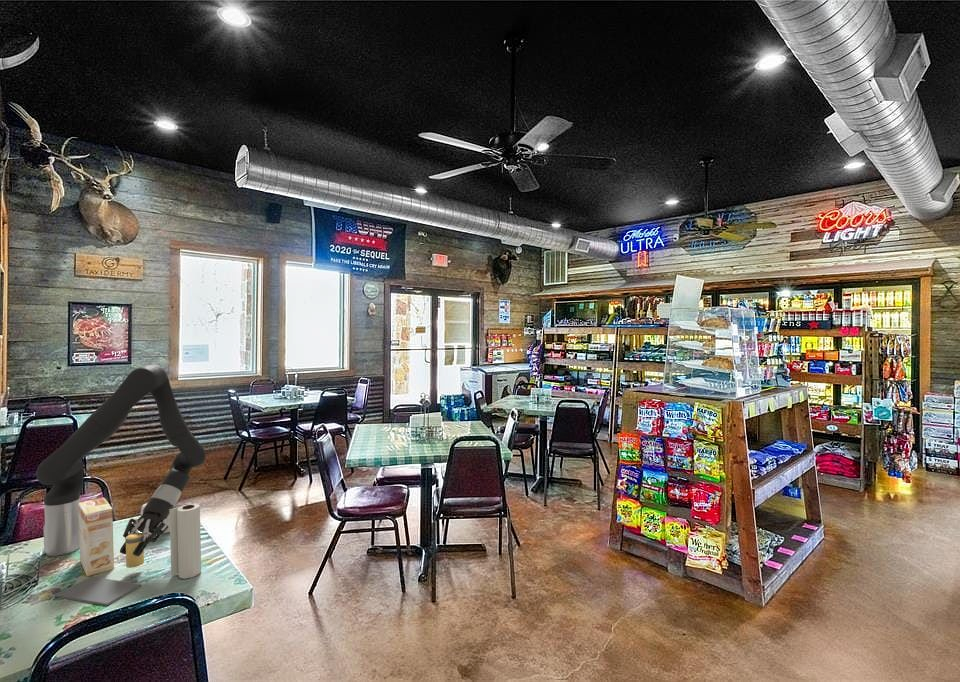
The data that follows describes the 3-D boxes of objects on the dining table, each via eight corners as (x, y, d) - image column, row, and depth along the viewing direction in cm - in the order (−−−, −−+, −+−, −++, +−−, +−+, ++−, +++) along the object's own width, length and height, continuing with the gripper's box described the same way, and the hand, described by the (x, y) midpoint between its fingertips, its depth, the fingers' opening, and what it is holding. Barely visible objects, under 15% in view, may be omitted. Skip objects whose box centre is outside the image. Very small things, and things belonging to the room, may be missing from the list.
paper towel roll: (205, 570, 148) (204, 504, 147) (188, 580, 142) (186, 511, 141) (188, 567, 150) (187, 501, 149) (171, 576, 144) (169, 508, 144)
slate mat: (55, 596, 134) (54, 594, 134) (91, 578, 144) (91, 576, 144) (107, 605, 129) (107, 603, 129) (141, 586, 139) (141, 584, 139)
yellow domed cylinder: (122, 566, 145) (121, 538, 145) (136, 559, 150) (135, 532, 150) (134, 568, 144) (133, 540, 144) (147, 561, 149) (147, 533, 148)
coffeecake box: (115, 568, 149) (113, 508, 149) (86, 577, 144) (84, 514, 144) (106, 552, 160) (104, 496, 159) (79, 560, 154) (77, 502, 154)
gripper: (138, 494, 155) (101, 547, 144) (173, 498, 152) (139, 552, 141) (152, 504, 161) (119, 555, 149) (187, 508, 157) (155, 561, 146)
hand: (129, 554), depth 145 cm, fingers closed on yellow domed cylinder, 4 cm apart
